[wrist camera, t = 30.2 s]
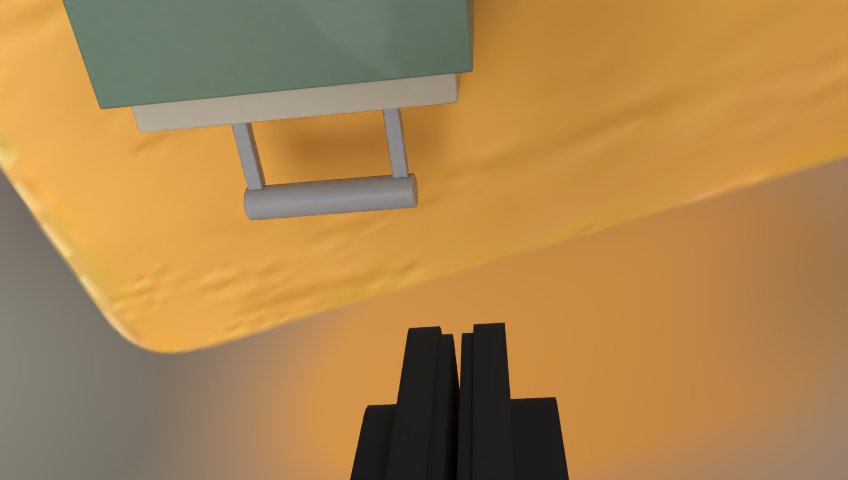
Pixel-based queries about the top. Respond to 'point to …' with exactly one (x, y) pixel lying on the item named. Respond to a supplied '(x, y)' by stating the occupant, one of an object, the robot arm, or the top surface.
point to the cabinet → (263, 45)
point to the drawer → (308, 103)
